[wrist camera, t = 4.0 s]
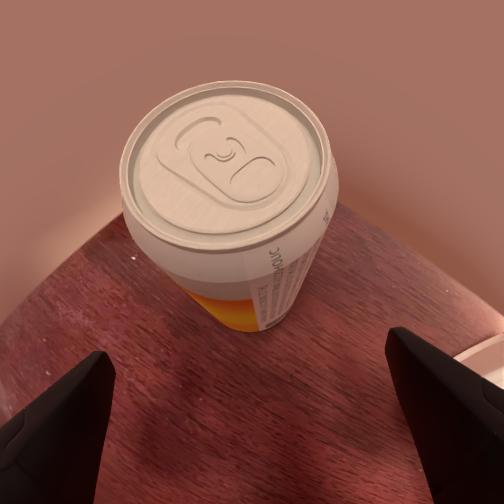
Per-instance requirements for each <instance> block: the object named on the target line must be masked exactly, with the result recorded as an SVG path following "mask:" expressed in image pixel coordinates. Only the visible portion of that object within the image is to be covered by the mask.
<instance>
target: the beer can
mask: <svg viewBox="0 0 504 504" xmlns="http://www.w3.org/2000/svg"><path fill="white" fill-rule="evenodd" d="M119 181H120V188H121V192H122V208H123V214H124V218H125V222H126V225H127V227H128V229H129V232H130V234H131V236H132V237H133V239H134V240H135V242H136V244H137V245H138V246H139V247H140V248H141V250H142V251H143V252H144V253H145V254H146V255H147V256H148V257H149V258H150V259H151V260H152V261H153V262H154V263H155V264H156V265H158V266H159V267H160V268H161V269H162V270H163V271H164V272H165V273H166V274H167V275H168V276H169V277H170V278H172V279H173V280H174V281H175V282H176V283H177V284H178V285H179V286H180V287H181V288H182V289H184V290H185V291H186V292H187V293H188V294H189V295H190V296H191V297H193V298H194V299H195V300H196V301H197V302H198V303H199V304H200V305H202V306H203V307H204V308H205V309H206V310H207V311H208V312H210V313H211V314H212V315H213V316H214V317H215V318H217V319H218V320H219V321H220V322H221V323H223V324H224V325H226V326H227V327H229V328H232V329H234V330H237V331H242V332H257V331H262V330H265V329H268V328H270V327H272V326H274V325H275V324H277V323H278V322H280V321H281V320H282V319H283V318H284V317H285V316H286V314H287V313H288V312H289V310H290V308H291V306H292V304H293V302H294V300H295V298H296V296H297V294H298V292H299V290H300V287H301V285H302V283H303V281H304V279H305V277H306V274H307V272H308V270H309V268H310V266H311V263H312V261H313V259H314V257H315V254H316V252H317V250H318V248H319V245H320V243H321V241H322V239H323V236H324V234H325V232H326V229H327V227H328V225H329V222H330V220H331V218H332V215H333V213H334V209H335V206H336V203H337V197H338V185H339V180H338V172H337V167H336V163H335V160H334V157H333V155H332V153H331V150H330V144H329V140H328V137H327V134H326V132H325V129H324V127H323V125H322V124H321V123H320V121H319V119H318V118H317V116H316V115H315V114H314V113H313V112H312V111H311V110H310V109H309V108H308V107H307V106H306V105H305V104H304V103H302V102H301V101H300V100H299V99H297V98H296V97H294V96H292V95H291V94H289V93H287V92H285V91H283V90H281V89H278V88H275V87H272V86H269V85H266V84H262V83H256V82H251V81H219V82H212V83H207V84H203V85H199V86H196V87H193V88H190V89H187V90H185V91H183V92H180V93H178V94H176V95H174V96H172V97H170V98H169V99H167V100H165V101H164V102H162V103H161V104H160V105H158V106H157V107H156V108H154V109H153V110H152V111H151V112H150V113H149V114H147V115H146V116H145V117H144V119H143V120H142V121H141V122H140V123H139V124H138V125H137V127H136V128H135V130H134V131H133V132H132V134H131V136H130V137H129V139H128V141H127V143H126V146H125V148H124V151H123V154H122V157H121V162H120V169H119Z"/></svg>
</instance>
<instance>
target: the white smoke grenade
mask: <svg viewBox="0 0 504 504" xmlns="http://www.w3.org/2000/svg"><path fill="white" fill-rule="evenodd" d="M453 358H454V359H455V360H457V361H459V362H460V363H462V364H463V365H465V366H467V367H468V368H470V369H471V370H473V371H474V372H476V373H478V374H479V375H481V377H484V378H486V379H487V380H489V381H490V382H492V383H494V384H495V385H497V386H499V387H500V388H502V389H504V332H503V333H501V334H498V335H496V336H494V337H491V338H489V339H487V340H485V341H483V342H481V343H479V344H477V345H475V346H473V347H471V348H469V349H467V350H465V351H463V352H462V353H460V354H458V355H456V356H455V357H453Z"/></svg>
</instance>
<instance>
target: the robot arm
mask: <svg viewBox="0 0 504 504" xmlns="http://www.w3.org/2000/svg"><path fill="white" fill-rule="evenodd" d="M385 355H386V359H387V362H388V366H389V369H390V373H391V376H392V380H393V384H394V388H395V391H396V394H397V397H398V400H399V402H400V405H401V407H402V410H403V413H404V415H405V418H406V421H407V423H408V426H409V429H410V432H411V434H412V437H413V440H414V443H415V446H416V448H417V451H418V454H419V457H420V460H421V463H422V466H423V469H424V472H425V476H426V479H427V482H428V485H429V488H430V492H431V495H432V498H433V502H434V504H504V389H502V388H500V387H499V386H497V385H495V384H494V383H492V382H490V381H489V380H487V379H486V378H484V377H481V375H479V374H478V373H476V372H474V371H473V370H471V369H470V368H468V367H467V366H465V365H463V364H462V363H460V362H459V361H457V360H455V359H454V358H452V357H451V356H449V355H447V354H446V353H444V352H443V351H441V350H439V349H438V348H436V347H435V346H433V345H431V344H430V343H428V342H427V341H425V340H423V339H422V338H420V337H419V336H417V335H415V334H414V333H412V332H410V331H409V330H407V329H406V328H404V327H402V326H399V327H394V328H391V329H390V330H389V332H388V336H387V341H386V345H385ZM115 376H116V372H115V368H114V366H113V364H112V362H111V360H110V358H109V356H108V354H107V353H106V352H105V351H94V352H92V353H91V354H90V355H89V356H87V357H86V358H85V359H84V360H83V361H81V362H80V363H79V364H78V365H76V366H75V367H74V368H73V369H71V370H70V371H69V372H68V373H67V374H65V375H64V376H63V377H62V378H60V379H59V380H58V381H57V382H56V383H54V384H53V385H52V386H51V387H49V388H48V389H47V390H46V391H45V392H43V393H42V394H41V395H40V396H39V397H37V398H36V399H35V400H34V401H32V402H31V403H30V404H29V405H28V406H26V407H25V409H23V410H22V411H20V412H19V413H18V414H17V415H16V416H14V417H13V418H12V419H11V420H9V421H8V422H7V423H6V424H4V425H3V426H1V427H0V504H93V502H94V496H95V489H96V483H97V477H98V472H99V466H100V461H101V456H102V451H103V446H104V441H105V436H106V432H107V427H108V423H109V418H110V413H111V406H112V398H113V390H114V383H115Z"/></svg>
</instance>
